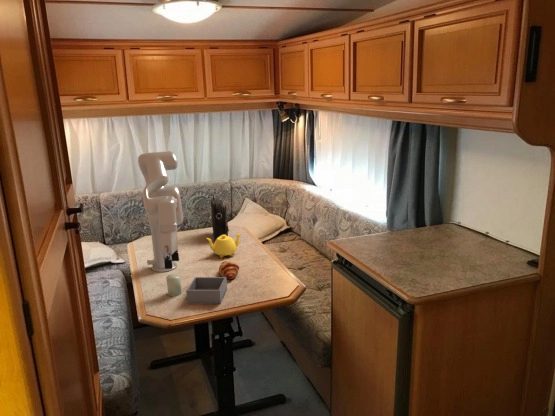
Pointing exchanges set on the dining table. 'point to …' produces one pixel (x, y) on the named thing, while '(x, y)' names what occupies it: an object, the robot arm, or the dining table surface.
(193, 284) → the bin
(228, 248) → the teapot
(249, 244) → the dining table surface
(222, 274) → the croissant
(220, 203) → the shoulder bag
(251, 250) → the dining table surface
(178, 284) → the pale green rounded block
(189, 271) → the dining table surface
